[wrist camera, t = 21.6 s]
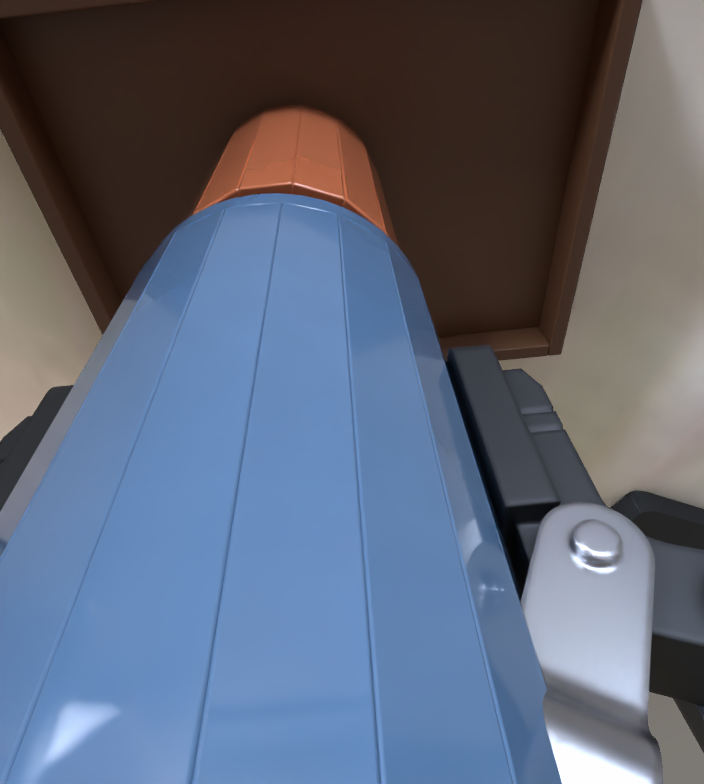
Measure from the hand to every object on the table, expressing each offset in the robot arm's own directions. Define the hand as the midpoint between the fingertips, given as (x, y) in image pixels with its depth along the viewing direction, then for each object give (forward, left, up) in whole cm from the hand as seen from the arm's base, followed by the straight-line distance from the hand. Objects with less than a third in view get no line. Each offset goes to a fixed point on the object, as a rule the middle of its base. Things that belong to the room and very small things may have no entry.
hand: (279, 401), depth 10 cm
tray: (+1, 0, -12) cm, 12 cm away
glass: (0, 0, -2) cm, 2 cm away
